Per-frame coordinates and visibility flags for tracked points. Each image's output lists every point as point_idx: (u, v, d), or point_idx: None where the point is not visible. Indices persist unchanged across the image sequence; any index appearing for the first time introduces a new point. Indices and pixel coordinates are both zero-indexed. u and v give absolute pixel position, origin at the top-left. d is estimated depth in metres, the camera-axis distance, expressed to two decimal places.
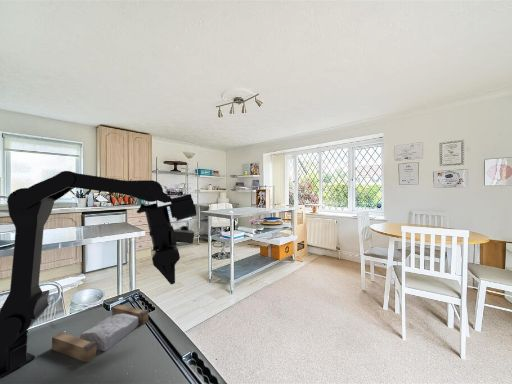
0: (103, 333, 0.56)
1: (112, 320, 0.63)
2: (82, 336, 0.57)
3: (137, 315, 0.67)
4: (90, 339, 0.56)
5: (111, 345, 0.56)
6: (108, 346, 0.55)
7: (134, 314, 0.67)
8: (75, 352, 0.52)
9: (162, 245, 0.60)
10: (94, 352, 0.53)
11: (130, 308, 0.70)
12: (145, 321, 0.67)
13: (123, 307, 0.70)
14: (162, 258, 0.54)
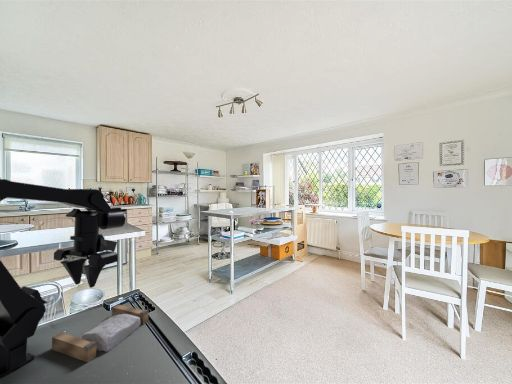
0: (105, 334, 0.56)
1: (114, 320, 0.63)
2: (84, 336, 0.56)
3: (137, 315, 0.67)
4: (92, 339, 0.56)
5: (113, 345, 0.56)
6: (110, 346, 0.55)
7: (134, 314, 0.67)
8: (75, 352, 0.52)
9: (92, 250, 0.64)
10: (94, 352, 0.53)
11: (130, 308, 0.70)
12: (145, 321, 0.67)
13: (123, 307, 0.70)
14: (106, 260, 0.61)
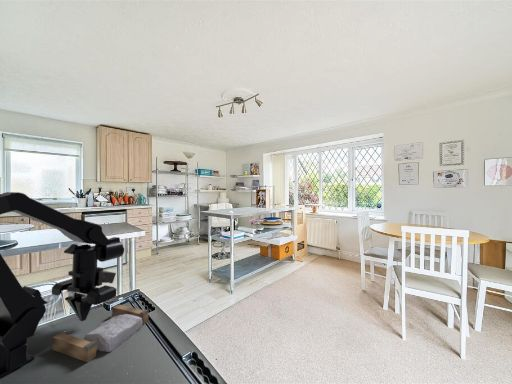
0: (108, 334, 0.56)
1: (116, 321, 0.62)
2: (86, 337, 0.56)
3: (137, 315, 0.67)
4: (95, 340, 0.56)
5: (115, 346, 0.56)
6: (112, 347, 0.55)
7: (134, 314, 0.67)
8: (75, 352, 0.52)
9: (90, 285, 0.63)
10: (94, 352, 0.53)
11: (130, 308, 0.70)
12: (145, 321, 0.67)
13: (123, 307, 0.70)
14: (105, 296, 0.61)
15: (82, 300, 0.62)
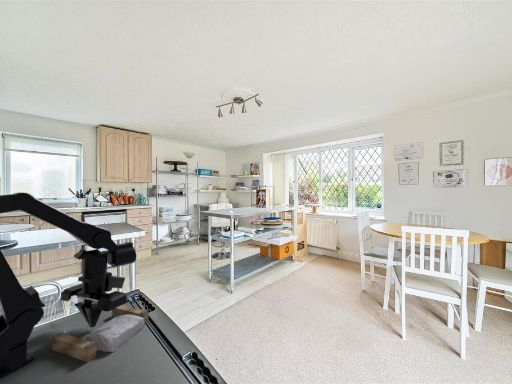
0: (110, 335, 0.55)
1: (117, 321, 0.62)
2: (88, 338, 0.56)
3: (137, 315, 0.67)
4: (97, 340, 0.56)
5: (118, 346, 0.56)
6: (115, 347, 0.55)
7: (134, 314, 0.67)
8: (75, 352, 0.52)
9: (100, 291, 0.62)
10: (94, 352, 0.53)
11: (130, 308, 0.70)
12: (145, 321, 0.67)
13: (123, 307, 0.70)
14: (115, 302, 0.59)
15: (92, 306, 0.61)
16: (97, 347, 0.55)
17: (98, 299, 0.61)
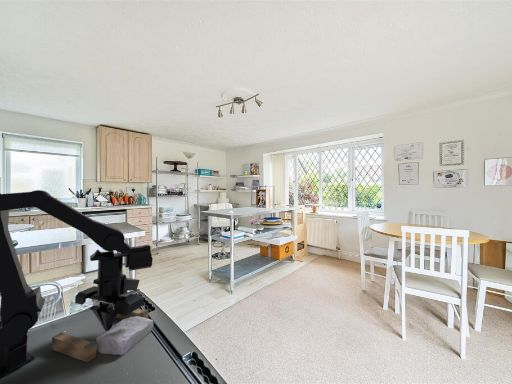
0: (120, 337, 0.54)
1: (127, 323, 0.61)
2: (98, 340, 0.55)
3: (137, 315, 0.67)
4: (107, 343, 0.55)
5: (128, 349, 0.55)
6: (125, 350, 0.54)
7: (134, 314, 0.67)
8: (75, 352, 0.52)
9: (116, 294, 0.60)
10: (94, 352, 0.53)
11: None
12: None
13: None
14: (133, 306, 0.58)
15: (108, 310, 0.59)
16: (107, 350, 0.54)
17: (114, 302, 0.59)
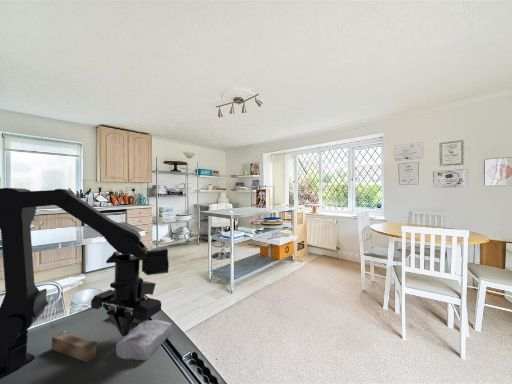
0: (143, 342, 0.53)
1: (146, 327, 0.60)
2: (119, 345, 0.53)
3: None
4: (128, 348, 0.53)
5: (150, 354, 0.53)
6: (148, 355, 0.53)
7: None
8: (75, 352, 0.52)
9: (133, 298, 0.58)
10: (94, 352, 0.53)
11: None
12: (145, 321, 0.67)
13: None
14: (151, 311, 0.56)
15: (126, 315, 0.57)
16: (129, 355, 0.53)
17: (132, 307, 0.57)
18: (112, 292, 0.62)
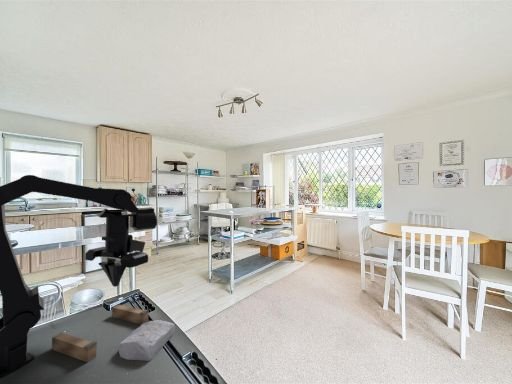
0: (146, 342, 0.53)
1: (148, 327, 0.60)
2: (122, 346, 0.53)
3: (137, 315, 0.67)
4: (132, 349, 0.53)
5: (154, 354, 0.53)
6: (151, 355, 0.52)
7: (134, 314, 0.67)
8: (75, 352, 0.52)
9: (122, 251, 0.63)
10: (94, 352, 0.53)
11: (130, 308, 0.70)
12: (145, 321, 0.67)
13: (123, 307, 0.70)
14: (138, 260, 0.61)
15: (115, 264, 0.62)
16: (132, 356, 0.52)
17: (121, 258, 0.62)
18: (105, 248, 0.68)
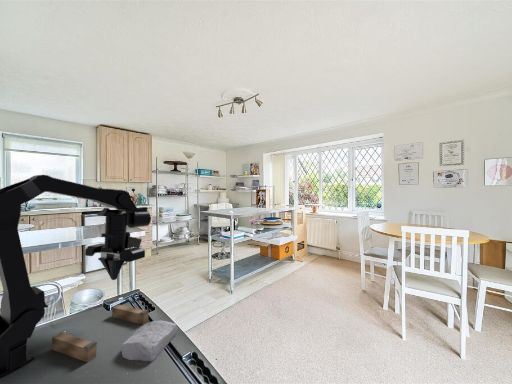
0: (149, 343, 0.53)
1: (151, 328, 0.59)
2: (125, 346, 0.53)
3: (137, 315, 0.67)
4: (135, 349, 0.53)
5: (157, 355, 0.53)
6: (154, 356, 0.52)
7: (134, 314, 0.67)
8: (75, 352, 0.52)
9: (121, 247, 0.69)
10: (94, 352, 0.53)
11: (130, 308, 0.70)
12: (145, 321, 0.67)
13: (123, 307, 0.70)
14: (136, 255, 0.66)
15: (114, 259, 0.67)
16: (135, 356, 0.52)
17: (119, 253, 0.67)
18: (103, 244, 0.73)
